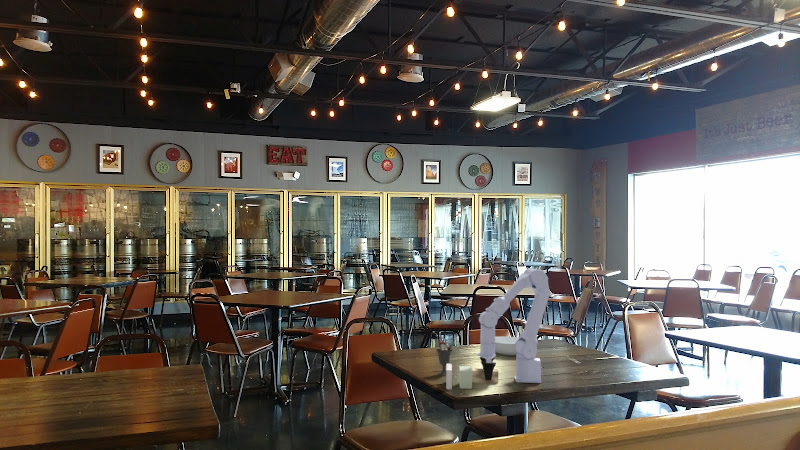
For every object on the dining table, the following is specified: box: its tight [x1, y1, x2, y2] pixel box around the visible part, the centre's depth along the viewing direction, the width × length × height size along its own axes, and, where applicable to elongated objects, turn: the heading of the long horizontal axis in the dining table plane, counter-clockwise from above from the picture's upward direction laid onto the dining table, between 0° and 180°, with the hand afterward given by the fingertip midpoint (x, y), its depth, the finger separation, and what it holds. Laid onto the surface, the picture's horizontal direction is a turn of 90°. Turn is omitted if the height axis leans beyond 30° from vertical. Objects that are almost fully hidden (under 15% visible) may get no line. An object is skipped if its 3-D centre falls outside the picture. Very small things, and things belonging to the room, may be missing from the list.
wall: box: [445, 363, 453, 390], centre depth 218 cm, size 2×11×7 cm, turn 175°
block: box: [458, 365, 473, 390], centre depth 217 cm, size 4×8×6 cm, turn 175°
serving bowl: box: [495, 336, 520, 357], centre depth 278 cm, size 21×21×7 cm
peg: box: [472, 368, 499, 384], centre depth 225 cm, size 12×4×5 cm, turn 85°
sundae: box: [436, 336, 453, 376], centre depth 236 cm, size 7×7×15 cm
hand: (487, 377), depth 225 cm, fingers open, 7 cm apart
